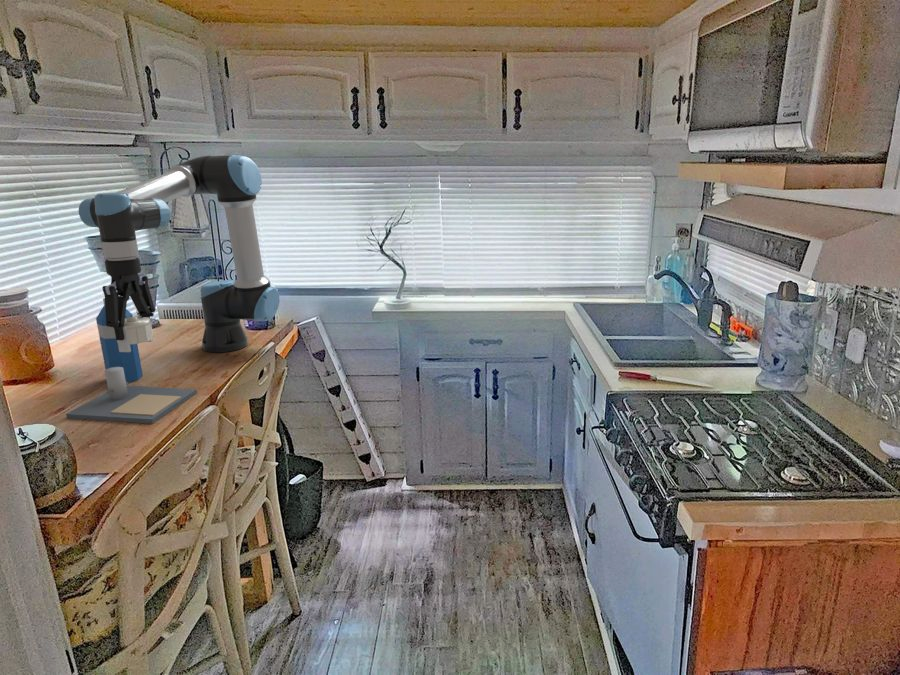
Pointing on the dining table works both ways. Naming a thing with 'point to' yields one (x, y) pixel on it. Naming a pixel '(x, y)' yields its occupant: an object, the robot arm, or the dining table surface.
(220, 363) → the dining table surface
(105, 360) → the water bottle
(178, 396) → the board
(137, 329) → the cap
